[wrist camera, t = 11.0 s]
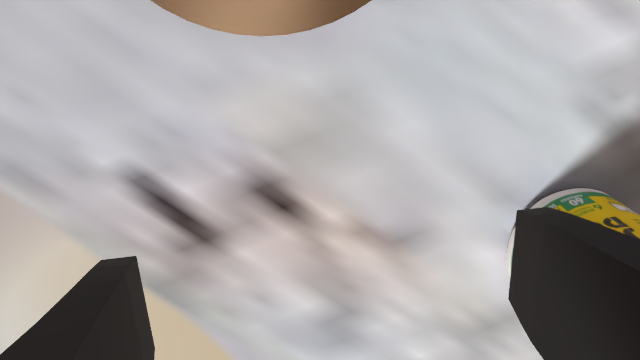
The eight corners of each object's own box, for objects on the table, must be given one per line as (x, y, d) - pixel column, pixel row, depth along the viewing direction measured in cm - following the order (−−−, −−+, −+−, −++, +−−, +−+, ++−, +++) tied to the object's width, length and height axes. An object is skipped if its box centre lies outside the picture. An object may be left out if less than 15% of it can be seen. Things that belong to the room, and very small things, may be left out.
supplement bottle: (552, 316, 26) (718, 512, 18) (475, 253, 24) (619, 439, 16) (646, 230, 25) (873, 393, 16) (573, 157, 23) (788, 298, 14)
